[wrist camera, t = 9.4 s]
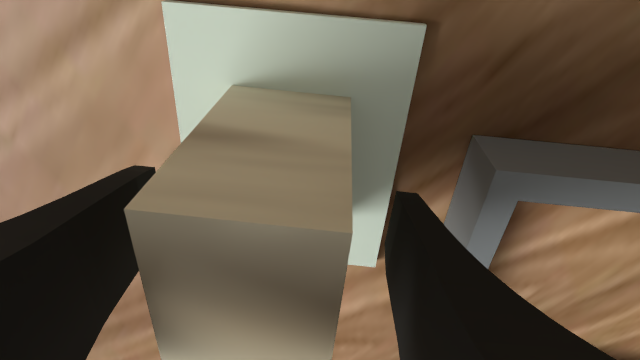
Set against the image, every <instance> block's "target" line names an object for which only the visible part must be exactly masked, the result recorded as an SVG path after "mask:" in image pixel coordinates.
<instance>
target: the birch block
mask: <svg viewBox="0 0 640 360" xmlns="http://www.w3.org/2000/svg"><path fill="white" fill-rule="evenodd" d="M124 212H125V216H126V220H127V224H128V228H129V232H130V236H131V240H132V244H133V248H134V252H135V256H136V260H137V264H138V268H139V272H140V276H141V280H142V284H143V288H144V292H145V296H146V300H147V304H148V308H149V312H150V316H151V320H152V324H153V328H154V332H155V336H156V340H157V344H158V348H159V352H160V357H161V360H332V354H333V348H334V342H335V336H336V330H337V324H338V318H339V312H340V306H341V300H342V294H343V289H344V283H345V277H346V271H347V265H348V259H349V253H350V247H351V241H352V235H353V217H352V146H351V97H343V96H333V95H323V94H314V93H304V92H294V91H284V90H274V89H264V88H255V87H245V86H235V85H232V86H231V87H230V88H229V89H228V90H227V91H226V92H225V94H224V95H223V96H222V97H221V98H220V99H219V100H218V102H217V103H216V104H215V105H214V106H213V107H212V109H211V110H210V111H209V112H208V113H207V114H206V115H205V117H204V118H203V119H202V120H201V121H200V122H199V123H198V125H197V126H196V127H195V128H194V129H193V130H192V131H191V133H190V134H189V135H188V136H187V137H186V138H185V139H184V141H183V142H182V143H181V144H180V145H179V146H178V147H177V149H176V150H175V151H174V152H173V153H172V154H171V156H170V157H169V158H168V159H167V160H166V161H165V162H164V164H163V165H162V166H161V167H160V168H159V169H158V170H157V172H156V173H155V174H154V175H153V176H152V177H151V178H150V180H149V181H148V182H147V183H146V184H145V185H144V186H143V188H142V189H141V190H140V191H139V192H138V193H137V194H136V196H135V197H134V198H133V199H132V200H131V201H130V203H129V204H128V205H127V206H126V207H125V208H124Z"/></svg>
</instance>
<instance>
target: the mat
mask: <svg viewBox="0 0 640 360" xmlns="http://www.w3.org/2000/svg"><path fill="white" fill-rule="evenodd" d="M161 2H162V9H163V16H164V23H165V30H166V38H167V45H168V52H169V59H170V66H171V74H172V81H173V88H174V95H175V102H176V110H177V117H178V124H179V131H180V138H181V143H182V142H183V141H184V139H185V138H186V137H187V136H188V135H189V134H190V133H191V131H192V130H193V129H194V128H195V127H196V126H197V125H198V123H199V122H200V121H201V120H202V119H203V118H204V117H205V115H206V114H207V113H208V112H209V111H210V110H211V109H212V107H213V106H214V105H215V104H216V103H217V102H218V100H219V99H220V98H221V97H222V96H223V95H224V94H225V92H226V91H227V90H228V89H229V88H230V87H231V86H232V85H235V86H245V87H255V88H264V89H274V90H284V91H294V92H304V93H314V94H323V95H333V96H343V97H351V146H352V217H353V235H352V241H351V247H350V253H349V259H348V265H358V266H368V267H375V266H376V261H377V256H378V252H379V247H380V242H381V238H382V233H383V228H384V223H385V219H386V214H387V209H388V205H389V200H390V195H391V191H392V186H393V181H394V177H395V172H396V167H397V163H398V158H399V153H400V148H401V144H402V139H403V134H404V130H405V125H406V120H407V116H408V111H409V106H410V102H411V97H412V92H413V88H414V83H415V78H416V74H417V69H418V64H419V59H420V55H421V50H422V45H423V41H424V36H425V31H426V27H427V25H426V24H424V23H415V22H404V21H393V20H382V19H371V18H360V17H349V16H338V15H327V14H316V13H305V12H294V11H283V10H272V9H261V8H250V7H239V6H228V5H217V4H206V3H195V2H184V1H173V0H165V1H161Z"/></svg>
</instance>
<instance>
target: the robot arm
mask: <svg viewBox="0 0 640 360" xmlns="http://www.w3.org/2000/svg"><path fill="white" fill-rule="evenodd" d="M155 173H156V172H155V167H146V166H136V165H134V166H131V167H129V168H126V169H123V170H121V171H119V172H116V173H114V174H112V175H110V176H108V177H105V178H103V179H101V180H99V181H97V182H95V183H93V184H90V185H88V186H86V187H84V188H82V189H80V190H78V191H75V192H73V193H71V194H69V195H67V196H65V197H62V198H60V199H58V200H55V201H53V202H51V203H48V204H46V205H44V206H41V207H39V208H37V209H34V210H32V211H30V212H27V213H25V214H22V215H20V216H17V217H15V218H12V219H9V220H7V221H4V222H1V223H0V360H86V358H87V356H88V354H89V352H90V350H91V348H92V346H93V345H94V343H95V341H96V339H97V337H98V335H99V333H100V331H101V329H102V327H103V325H104V324H105V322H106V320H107V319H108V317H109V315H110V314H111V312H112V311H113V309H114V308H115V306H116V305H117V303H118V301H119V300H120V298H121V297H122V295H123V294H124V292H125V291H126V289H127V288H128V286H129V285H130V283H131V282H132V280H133V279H134V277H135V276H136V274H137V273H138V271H139V268H138V264H137V260H136V256H135V252H134V248H133V244H132V240H131V236H130V232H129V228H128V224H127V220H126V216H125V212H124V208H125V207H126V206H127V205H128V204H129V203H130V201H131V200H132V199H133V198H134V197H135V196H136V194H137V193H138V192H139V191H140V190H141V189H142V188H143V186H144V185H145V184H146V183H147V182H148V181H149V180H150V178H151V177H152V176H153V175H154V174H155ZM385 265H386V277H387V283H388V289H389V295H390V301H391V307H392V312H393V318H394V324H395V329H396V335H397V341H398V348H399V355H400V360H616V359H614V358H613V357H611V356H609V355H607V354H606V353H604V352H602V351H601V350H599V349H597V348H596V347H594V346H593V345H591V344H589V343H588V342H586V341H585V340H583V339H581V338H580V337H578V336H577V335H575V334H573V333H572V332H570V331H569V330H567V329H566V328H564V327H563V326H561V325H560V324H558V323H557V322H555V321H554V320H552V319H551V318H549V317H548V316H547V315H545V314H544V313H542V312H541V311H540V310H538V309H537V308H536V307H534V306H533V305H531V304H530V303H529V302H527V301H526V300H525V299H523V298H522V297H521V296H519V295H518V294H517V293H516V292H514V291H513V290H512V289H510V288H509V287H508V286H507V285H506V284H505V283H503V282H502V281H501V280H500V279H499V278H497V277H496V276H495V275H494V274H493V273H491V272H490V271H489V270H488V269H487V268H486V267H485V266H484V265H483V264H481V263H480V262H479V261H478V260H477V259H476V258H475V257H474V256H473V255H472V254H471V253H470V252H469V251H468V250H467V249H466V248H465V247H464V246H463V245H462V244H461V243H460V242H459V241H458V240H457V239H456V237H455V236H454V235H453V234H452V233H451V232H450V231H449V230H448V229H447V228H446V226H445V225H444V224H443V223H442V222H441V221H440V220H439V218H438V217H437V216H436V215H435V214H434V213H433V211H432V210H431V209H430V208H429V207H428V205H427V204H426V203H425V202H424V201H423V199H422V198H421V197H420V196H419V195H418V194H417V193H409V192H399V191H396V195H395V200H394V204H393V209H392V213H391V218H390V222H389V227H388V231H387V236H386V240H385Z"/></svg>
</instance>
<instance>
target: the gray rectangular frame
mask: <svg viewBox="0 0 640 360" xmlns="http://www.w3.org/2000/svg"><path fill="white" fill-rule="evenodd" d="M518 201H525V202H535V203H545V204H555V205H565V206H576V207H586V208H596V209H606V210H616V211H626V212H636V213H640V151H635V150H625V149H614V148H604V147H593V146H583V145H573V144H562V143H552V142H541V141H531V140H521V139H510V138H500V137H489V136H479V135H472V138H471V141H470V144H469V147H468V150H467V154H466V157H465V160H464V163H463V166H462V169H461V172H460V175H459V178H458V181H457V185H456V188H455V191H454V194H453V197H452V200H451V203H450V206H449V209H448V212H447V216H446V219H445V222H444V225H445V226H446V228H447V229H448V230H449V231H450V232H451V233H452V234H453V235H454V236H455V237H456V239H457V240H458V241H459V242H460V243H461V244H462V245H463V246H464V247H465V248H466V249H467V250H468V251H469V252H470V253H471V254H472V255H473V256H474V257H475V258H476V259H477V260H478V261H479V262H480V263H481V264H483V265H484V266H485V267H486V268H487V269H488V268H489V265H490V263H491V261H492V259H493V256H494V254H495V252H496V250H497V247H498V245H499V243H500V240H501V238H502V236H503V234H504V231H505V229H506V227H507V225H508V222H509V220H510V218H511V215H512V213H513V211H514V209H515V206H516V204H517V202H518Z"/></svg>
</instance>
